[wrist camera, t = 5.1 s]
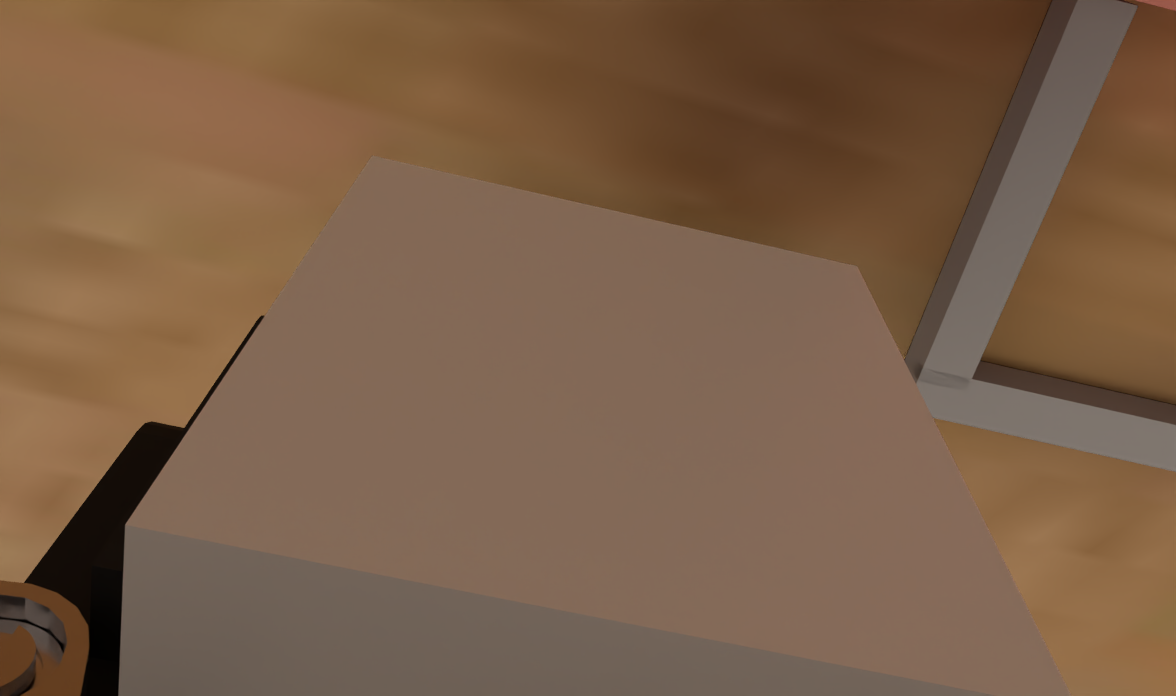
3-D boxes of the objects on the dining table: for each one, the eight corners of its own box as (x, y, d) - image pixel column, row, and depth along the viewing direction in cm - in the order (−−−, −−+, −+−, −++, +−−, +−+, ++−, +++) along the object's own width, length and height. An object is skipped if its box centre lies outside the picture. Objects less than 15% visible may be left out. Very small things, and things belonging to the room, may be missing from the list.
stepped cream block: (372, 155, 11) (2, 709, 4) (856, 266, 11) (1184, 923, 5) (307, 613, 13) (20, 1372, 7) (697, 688, 14) (766, 1469, 7)
